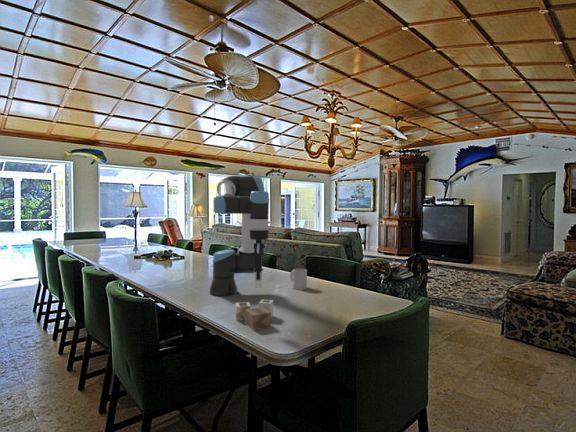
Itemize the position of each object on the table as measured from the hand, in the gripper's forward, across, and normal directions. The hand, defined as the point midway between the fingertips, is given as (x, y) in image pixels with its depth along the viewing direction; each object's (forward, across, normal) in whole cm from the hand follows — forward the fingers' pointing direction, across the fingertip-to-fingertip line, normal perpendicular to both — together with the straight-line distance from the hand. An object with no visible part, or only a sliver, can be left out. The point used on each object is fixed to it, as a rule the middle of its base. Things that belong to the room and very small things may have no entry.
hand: (258, 287), depth 139 cm
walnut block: (+16, 0, 0) cm, 16 cm away
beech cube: (+16, +9, +7) cm, 19 cm away
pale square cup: (+16, +10, -3) cm, 19 cm away
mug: (+16, +64, -20) cm, 69 cm away
